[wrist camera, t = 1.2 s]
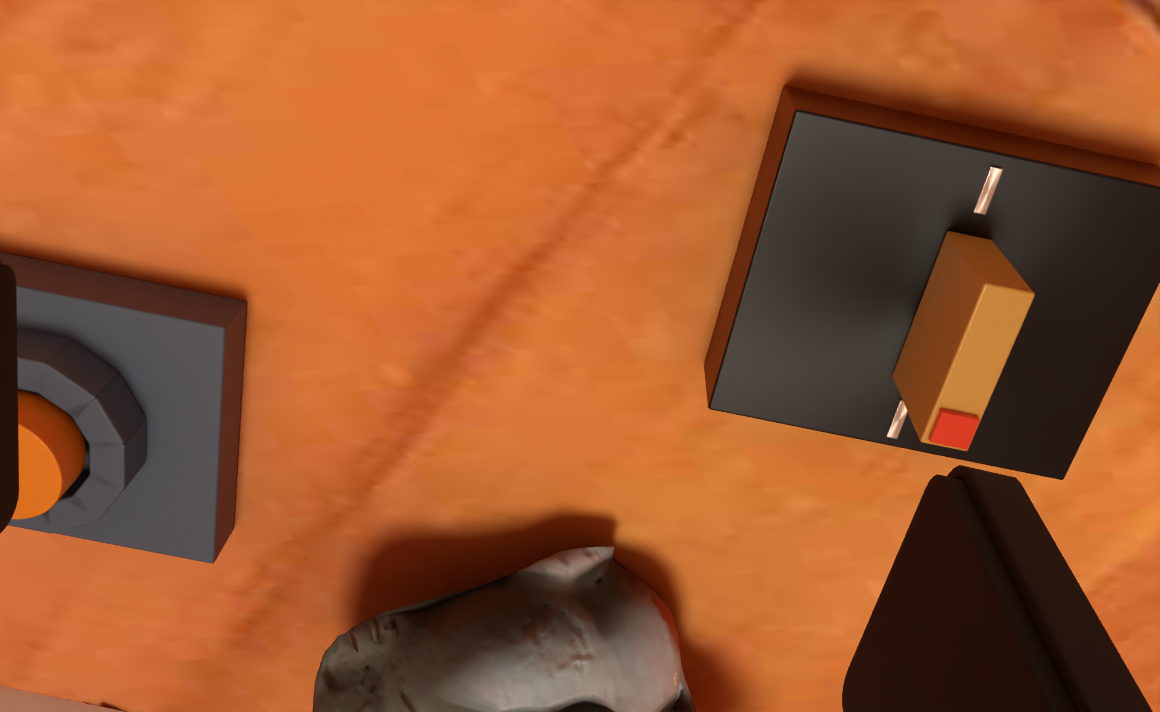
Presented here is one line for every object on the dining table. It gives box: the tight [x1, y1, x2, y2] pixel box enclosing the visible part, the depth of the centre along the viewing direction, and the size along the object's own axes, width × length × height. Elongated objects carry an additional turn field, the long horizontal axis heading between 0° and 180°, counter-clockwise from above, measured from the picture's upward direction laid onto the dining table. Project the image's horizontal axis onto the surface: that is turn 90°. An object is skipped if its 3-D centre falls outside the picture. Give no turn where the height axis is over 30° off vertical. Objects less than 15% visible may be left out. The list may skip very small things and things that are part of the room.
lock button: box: [11, 390, 86, 519], centre depth 35 cm, size 4×4×2 cm
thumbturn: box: [893, 231, 1034, 451], centre depth 31 cm, size 5×1×4 cm, turn 169°
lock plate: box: [704, 86, 1160, 480], centre depth 34 cm, size 10×12×3 cm
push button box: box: [0, 252, 247, 563], centre depth 37 cm, size 10×12×4 cm
